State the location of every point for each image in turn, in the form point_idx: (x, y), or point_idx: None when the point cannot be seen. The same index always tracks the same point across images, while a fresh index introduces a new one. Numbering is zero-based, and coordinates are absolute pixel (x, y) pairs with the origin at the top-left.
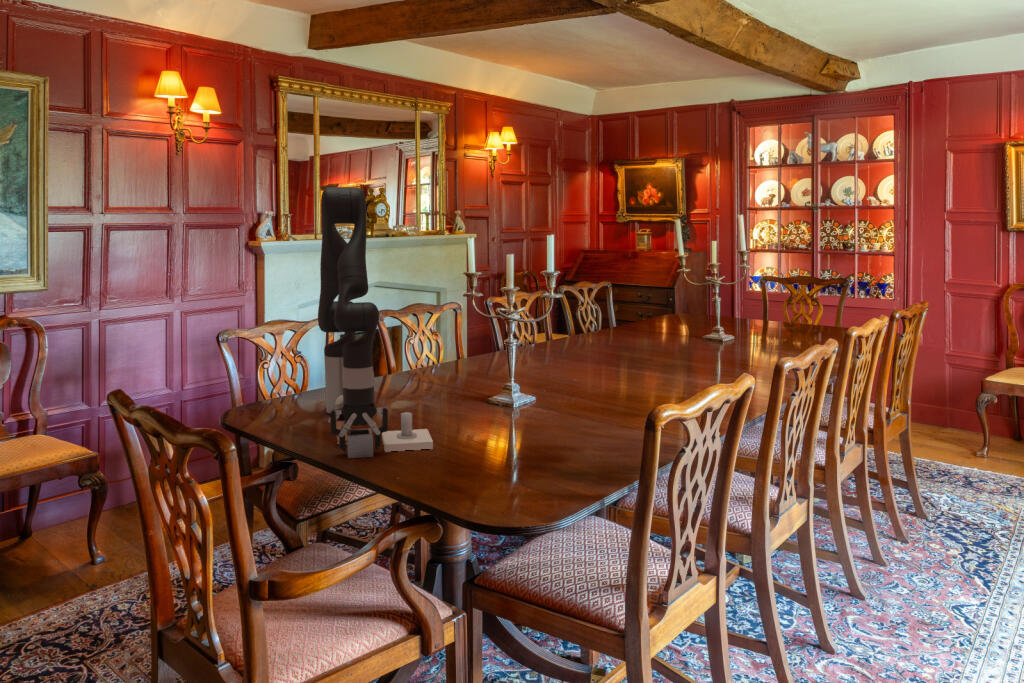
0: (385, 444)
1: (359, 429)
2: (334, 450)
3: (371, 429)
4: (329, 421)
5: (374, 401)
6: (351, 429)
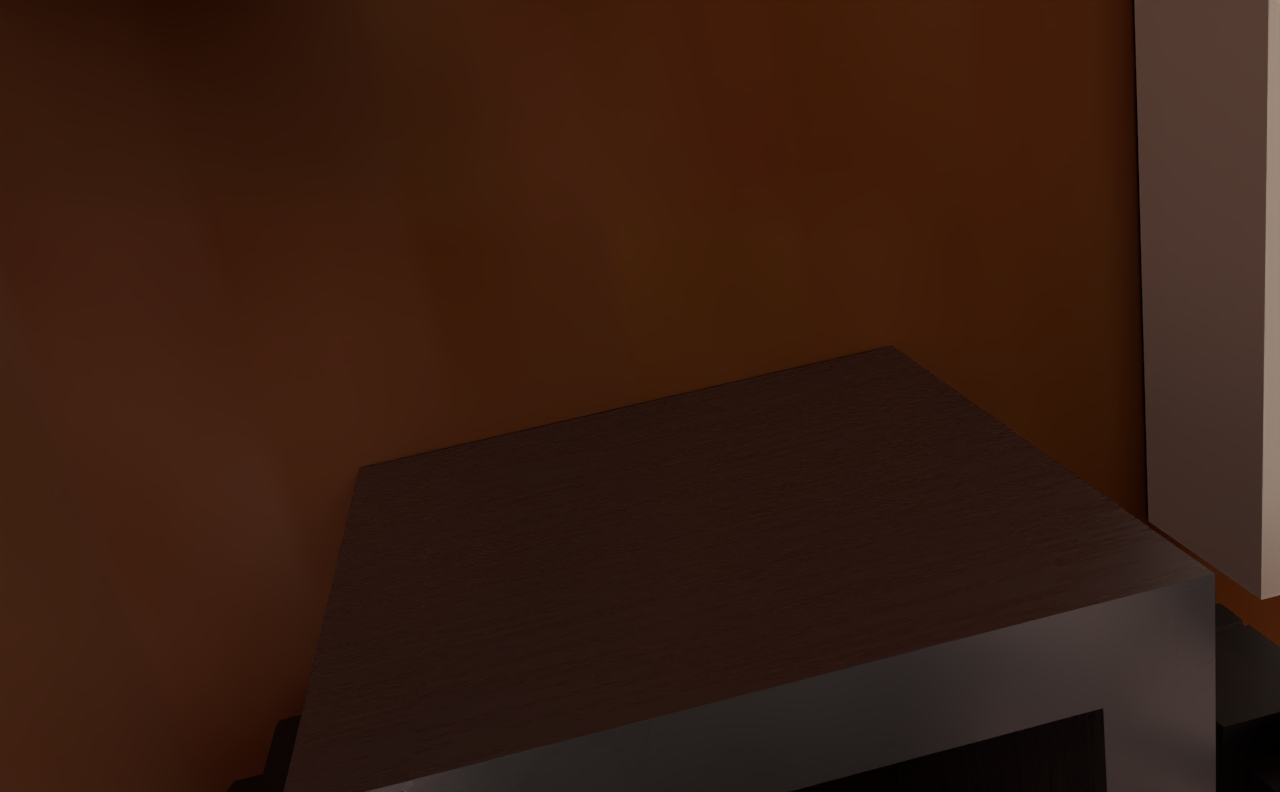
0: (1276, 595)
1: (779, 749)
2: (11, 429)
3: (1207, 724)
4: None
5: None
6: (464, 784)
